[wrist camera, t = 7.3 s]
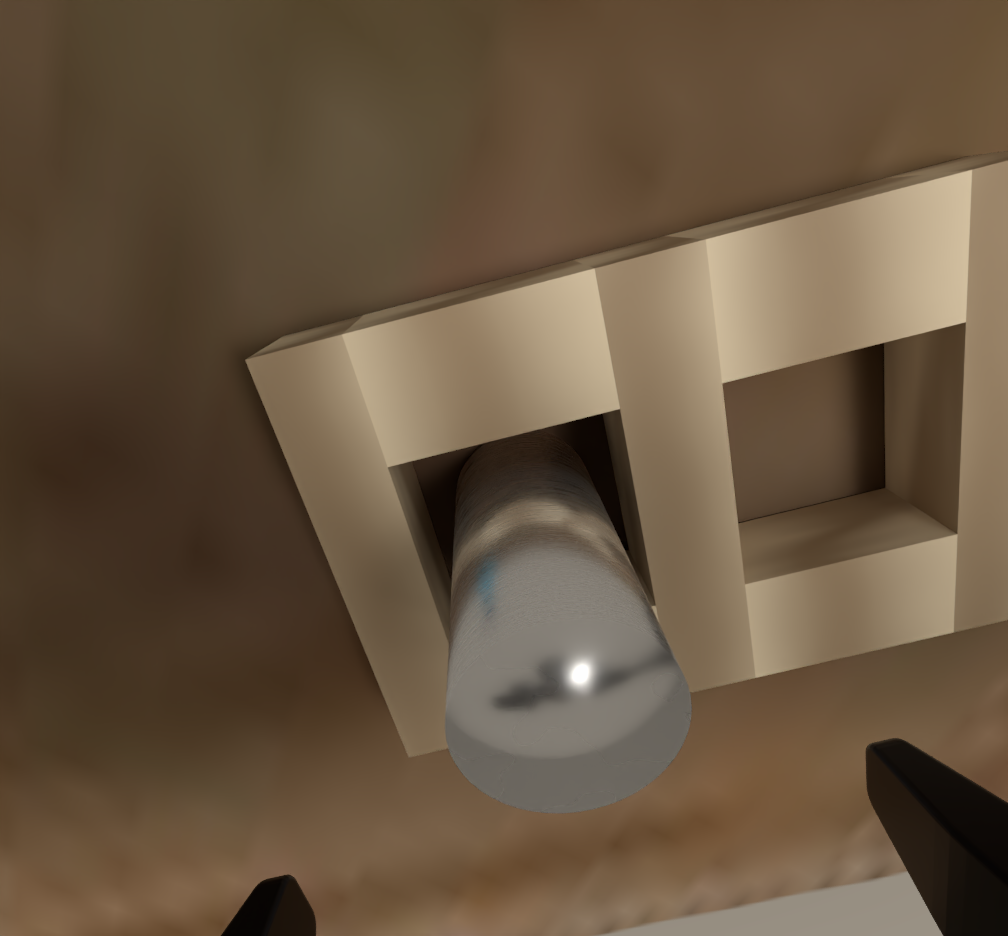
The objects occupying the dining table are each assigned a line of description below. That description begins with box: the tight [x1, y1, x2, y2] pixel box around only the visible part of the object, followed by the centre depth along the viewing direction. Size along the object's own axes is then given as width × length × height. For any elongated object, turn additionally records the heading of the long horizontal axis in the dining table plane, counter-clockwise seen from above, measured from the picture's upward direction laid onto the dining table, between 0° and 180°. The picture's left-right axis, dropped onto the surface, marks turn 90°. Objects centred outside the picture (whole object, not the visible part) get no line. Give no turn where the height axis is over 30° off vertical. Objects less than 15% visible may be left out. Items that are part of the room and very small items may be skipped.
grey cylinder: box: [445, 431, 692, 813], centre depth 14 cm, size 4×4×9 cm
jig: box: [245, 151, 1008, 757], centre depth 17 cm, size 18×12×3 cm, turn 104°
